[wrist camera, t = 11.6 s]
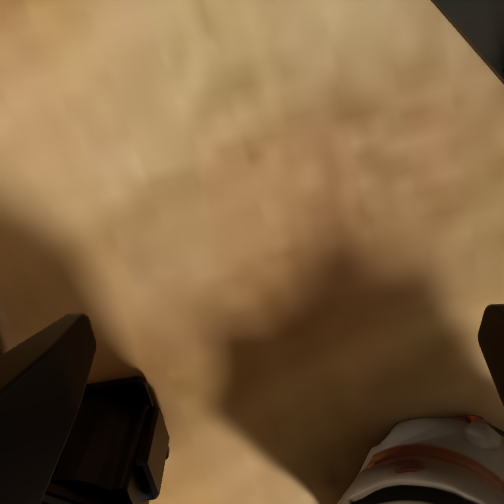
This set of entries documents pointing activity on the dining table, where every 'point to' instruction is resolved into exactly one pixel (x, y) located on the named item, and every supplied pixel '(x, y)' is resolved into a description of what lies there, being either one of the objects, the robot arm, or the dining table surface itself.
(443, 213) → the dining table surface
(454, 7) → the rail dock
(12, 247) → the dining table surface
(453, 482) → the lucky cat figurine
